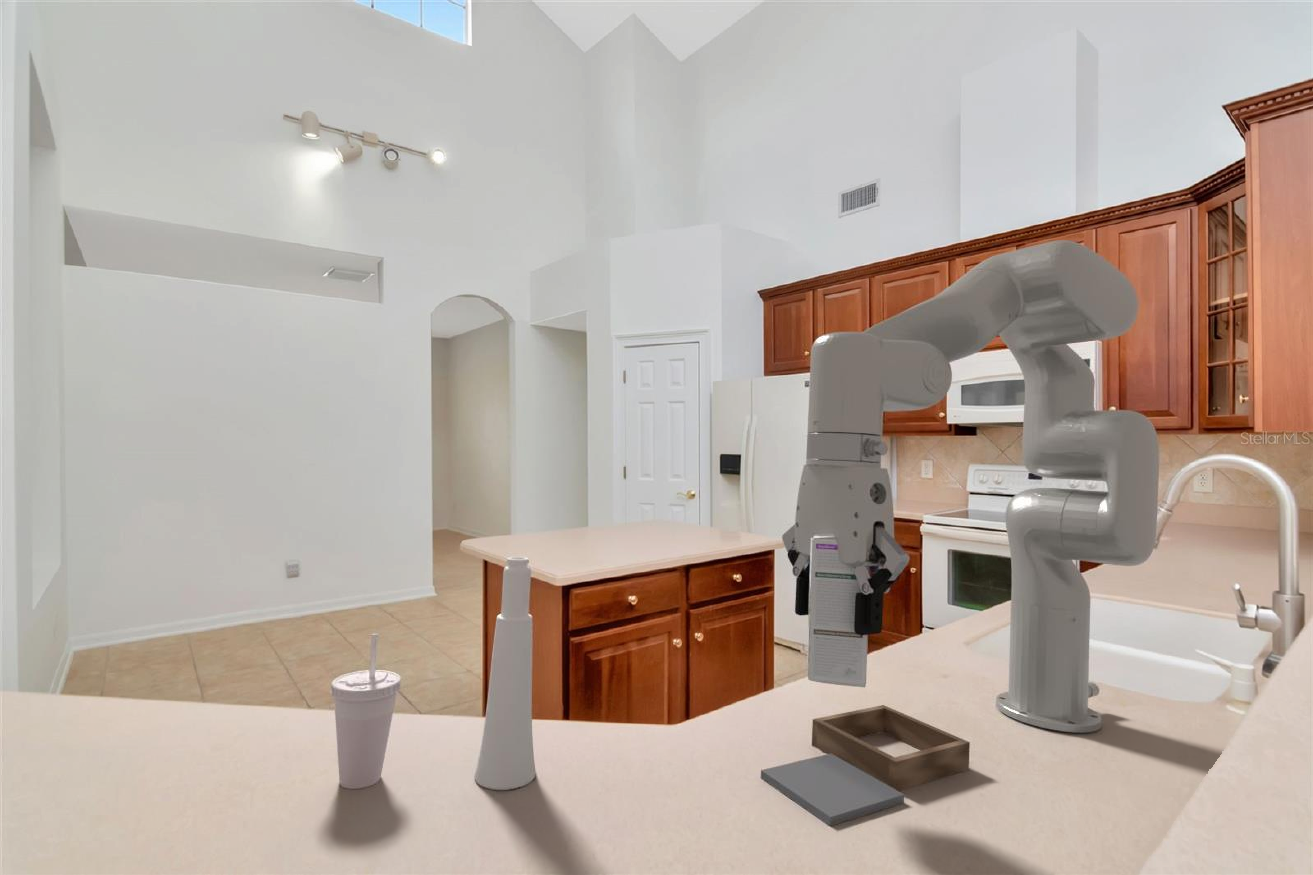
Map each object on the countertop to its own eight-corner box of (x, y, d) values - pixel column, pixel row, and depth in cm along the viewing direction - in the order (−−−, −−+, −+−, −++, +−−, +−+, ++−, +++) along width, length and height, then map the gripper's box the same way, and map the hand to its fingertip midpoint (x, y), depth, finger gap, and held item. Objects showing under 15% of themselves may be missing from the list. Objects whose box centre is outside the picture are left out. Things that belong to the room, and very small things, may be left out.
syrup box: (867, 688, 64) (873, 539, 65) (805, 681, 65) (811, 535, 66) (861, 671, 70) (866, 533, 70) (804, 664, 71) (810, 529, 71)
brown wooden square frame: (882, 728, 84) (883, 705, 84) (968, 769, 73) (969, 742, 73) (811, 744, 78) (812, 719, 78) (894, 791, 67) (895, 762, 67)
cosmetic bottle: (496, 758, 70) (509, 552, 71) (546, 769, 68) (558, 557, 69) (461, 783, 65) (475, 558, 66) (514, 796, 63) (528, 564, 64)
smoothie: (409, 776, 66) (418, 634, 66) (351, 803, 60) (361, 648, 61) (368, 758, 69) (377, 624, 69) (309, 782, 63) (319, 636, 64)
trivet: (830, 760, 74) (830, 753, 74) (903, 802, 65) (904, 794, 65) (760, 778, 69) (761, 770, 69) (829, 826, 60) (830, 817, 60)
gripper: (939, 456, 63) (933, 642, 62) (811, 453, 78) (805, 603, 77) (885, 451, 59) (877, 649, 58) (761, 450, 74) (754, 607, 73)
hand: (836, 622), depth 68 cm, fingers closed on syrup box, 7 cm apart
